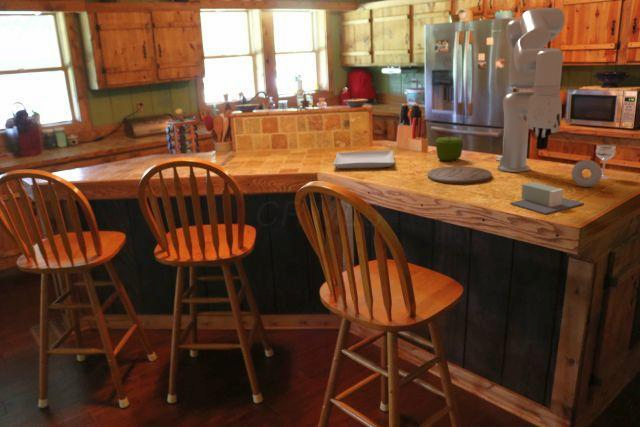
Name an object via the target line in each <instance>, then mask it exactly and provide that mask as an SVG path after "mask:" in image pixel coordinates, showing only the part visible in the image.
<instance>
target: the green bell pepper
mask: <svg viewBox="0 0 640 427" xmlns="http://www.w3.org/2000/svg"><path fill="white" fill-rule="evenodd" d="M463 146H464V141H463V139H462V138H460V137H458V136H443V137H442V136H441V137H438V138H436V140H435V148H436V156H437V159H439V160H440V161H441V162H453V161H456V160H458V159H459V158H461V156H462V151H463Z"/></svg>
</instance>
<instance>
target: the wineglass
mask: <svg viewBox="0 0 640 427" xmlns="http://www.w3.org/2000/svg"><path fill="white" fill-rule="evenodd" d="M616 148H617V146H616V145H613V144H597V145H596V149H595V155H596V157H597V158H599V159H600V160H602V162H603V163H602V176H601V179H600V180H605V179H606V180H607V179H611V177H610V176H607V175H604V173H605V168H606V162H607V161H608V160H611V159H612V158H614V156H615V155H616V152H617V151H616Z"/></svg>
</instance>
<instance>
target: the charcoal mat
mask: <svg viewBox="0 0 640 427" xmlns="http://www.w3.org/2000/svg"><path fill="white" fill-rule="evenodd" d="M509 204H510V205H513V206H514V207H518V208H521V209H525V210H528V211H532V212H535V213H538V214H542V215H549V214H552V213H557V212H560V211H565V210H568V209H572V208H575V207H579V206H580V207H581V206H583V205H584V202H581V201H577V200H573V199H570V198H566V197H563V198H562V204H561V205H557V206H553V207H549V206H546V205H542V204H539V203H535V202H531V201H528V200H524V199H521V200H517V201H513V202H510V203H509Z"/></svg>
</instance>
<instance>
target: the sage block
mask: <svg viewBox="0 0 640 427" xmlns="http://www.w3.org/2000/svg"><path fill="white" fill-rule="evenodd" d="M563 196H564V189H563V188H560V187H559V188H558V187H555V186H549V185H546V184H542V183H538V182H534V181H532V182H528V183H523V184H522V187H521V200H528V201H531V202H535V203H539V204H542V205H546V206H549V207H553V206H557V205H561V204H562V198H564V197H563Z"/></svg>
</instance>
